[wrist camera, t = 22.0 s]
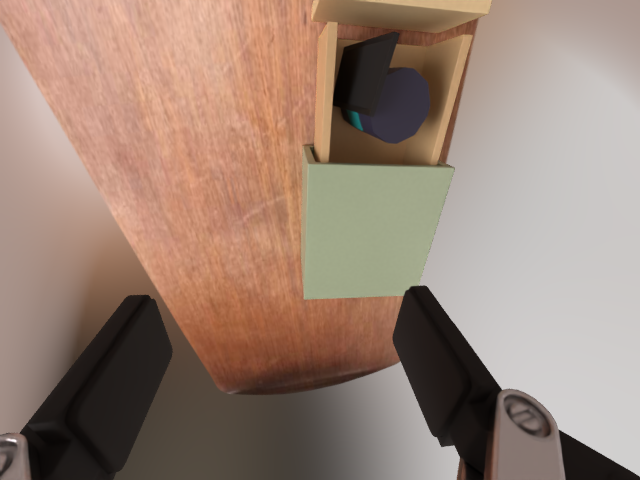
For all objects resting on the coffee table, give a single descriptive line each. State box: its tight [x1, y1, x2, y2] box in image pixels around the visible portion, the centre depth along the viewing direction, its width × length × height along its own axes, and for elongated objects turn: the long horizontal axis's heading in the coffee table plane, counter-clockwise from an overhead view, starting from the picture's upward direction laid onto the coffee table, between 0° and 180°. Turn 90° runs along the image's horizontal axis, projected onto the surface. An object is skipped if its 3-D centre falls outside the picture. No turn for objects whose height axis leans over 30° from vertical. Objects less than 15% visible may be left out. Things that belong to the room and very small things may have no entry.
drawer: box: [311, 0, 492, 165], centre depth 25 cm, size 21×13×8 cm, turn 177°
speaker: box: [333, 32, 430, 144], centre depth 24 cm, size 8×6×10 cm
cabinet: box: [301, 145, 455, 299], centre depth 33 cm, size 17×15×10 cm
